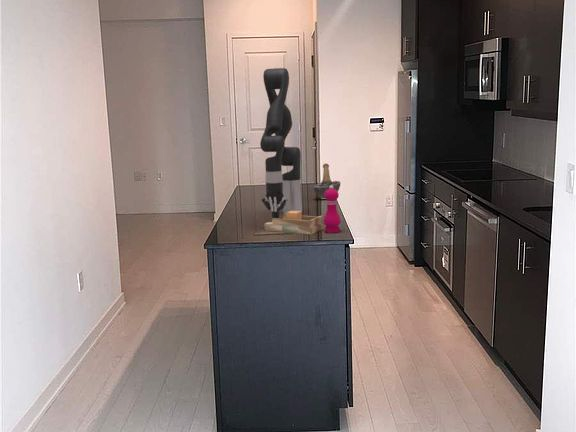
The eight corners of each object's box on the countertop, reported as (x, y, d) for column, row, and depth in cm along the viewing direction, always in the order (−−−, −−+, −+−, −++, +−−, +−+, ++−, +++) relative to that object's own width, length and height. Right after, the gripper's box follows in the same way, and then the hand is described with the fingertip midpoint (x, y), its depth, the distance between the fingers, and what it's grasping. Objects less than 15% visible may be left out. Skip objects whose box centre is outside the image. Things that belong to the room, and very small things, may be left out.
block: (292, 221, 272) (291, 210, 271) (302, 222, 270) (301, 211, 269) (286, 223, 268) (286, 212, 267) (296, 224, 266) (296, 213, 265)
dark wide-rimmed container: (340, 196, 356) (340, 161, 352) (340, 200, 340) (339, 165, 336) (315, 196, 357) (314, 162, 354) (313, 201, 341) (312, 165, 337)
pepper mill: (326, 229, 269) (325, 184, 265) (342, 229, 267) (341, 184, 263) (322, 232, 262) (321, 186, 258) (338, 233, 260) (337, 186, 256)
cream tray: (277, 225, 280) (276, 212, 279) (322, 229, 269) (322, 215, 268) (264, 230, 271) (264, 216, 270) (311, 234, 260) (311, 220, 259)
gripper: (291, 180, 271) (292, 218, 274) (265, 179, 277) (267, 217, 280) (283, 182, 264) (284, 222, 268) (256, 181, 270) (258, 220, 274)
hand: (275, 219), depth 274 cm, fingers closed
